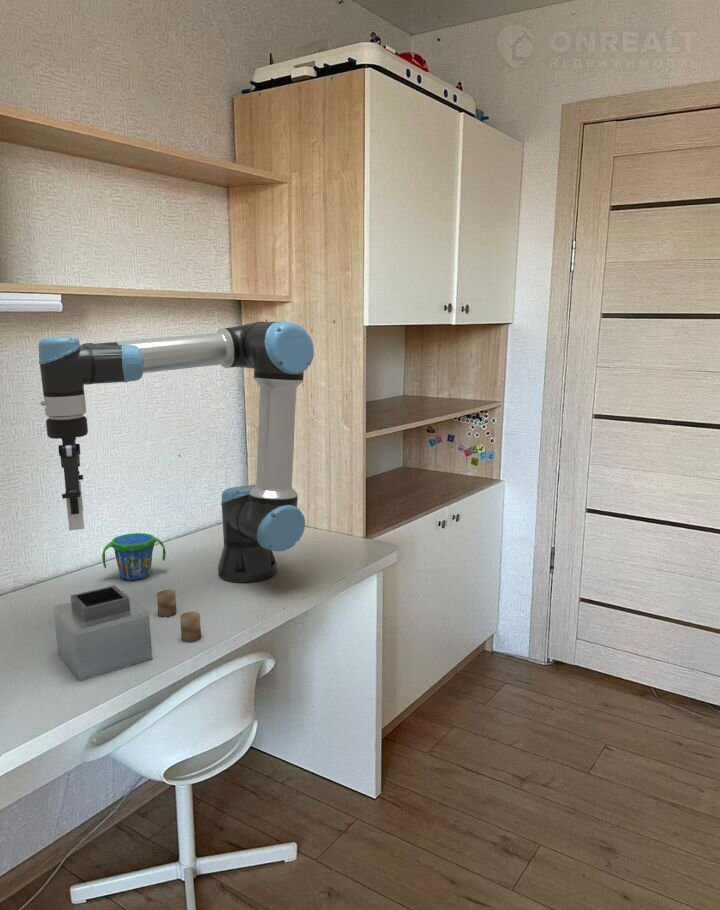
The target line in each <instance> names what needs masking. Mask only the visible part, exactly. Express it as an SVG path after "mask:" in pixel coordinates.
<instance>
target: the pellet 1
mask: <svg viewBox="0 0 720 910" xmlns="http://www.w3.org/2000/svg"><path fill="white" fill-rule="evenodd" d="M176 595H177V594H176V591H175V590H173V589H162V590H160V591H158V592H157V593H156V600H157V601H156V603H157V615H158V617H160V618H164V617H167V618H171V617H170V616H172V617H175V616H176V615H177V614H176V613H178V612H177V600H176V599H177V598H176V597H177V596H176Z"/></svg>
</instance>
